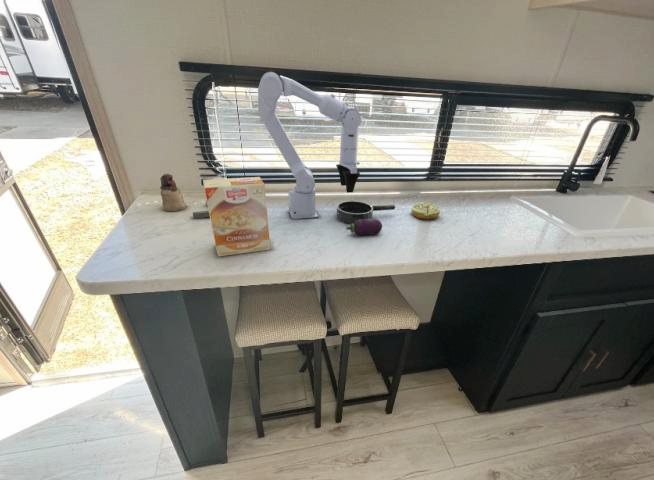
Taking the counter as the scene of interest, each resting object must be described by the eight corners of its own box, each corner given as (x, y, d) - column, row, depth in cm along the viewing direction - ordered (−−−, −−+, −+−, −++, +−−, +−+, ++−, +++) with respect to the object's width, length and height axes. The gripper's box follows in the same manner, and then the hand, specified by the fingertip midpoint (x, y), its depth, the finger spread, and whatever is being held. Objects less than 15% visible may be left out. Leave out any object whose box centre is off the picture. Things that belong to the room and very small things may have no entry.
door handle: (190, 218, 107) (241, 212, 111) (195, 197, 123) (240, 193, 126) (193, 227, 109) (243, 222, 113) (197, 206, 125) (242, 201, 128)
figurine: (178, 203, 124) (170, 169, 117) (189, 207, 121) (182, 173, 114) (160, 207, 119) (150, 173, 112) (171, 213, 116) (161, 178, 109)
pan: (342, 226, 116) (342, 215, 113) (332, 212, 126) (333, 201, 123) (376, 223, 119) (378, 212, 117) (365, 210, 129) (365, 200, 127)
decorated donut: (405, 214, 128) (406, 204, 126) (421, 208, 135) (423, 199, 132) (427, 222, 123) (429, 213, 120) (443, 216, 129) (445, 206, 127)
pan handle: (371, 211, 122) (371, 206, 121) (369, 209, 123) (370, 205, 122) (395, 210, 125) (396, 205, 124) (393, 208, 126) (394, 203, 125)
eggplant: (377, 225, 115) (381, 214, 111) (381, 236, 113) (385, 225, 108) (343, 228, 112) (345, 217, 107) (347, 239, 109) (349, 228, 105)
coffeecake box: (217, 257, 93) (203, 187, 82) (215, 246, 98) (201, 178, 87) (271, 250, 99) (265, 183, 87) (266, 239, 104) (259, 175, 92)
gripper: (367, 153, 107) (363, 194, 115) (353, 143, 118) (351, 182, 126) (346, 153, 105) (344, 195, 113) (334, 143, 116) (333, 182, 124)
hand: (346, 188), depth 120 cm, fingers open, 7 cm apart
